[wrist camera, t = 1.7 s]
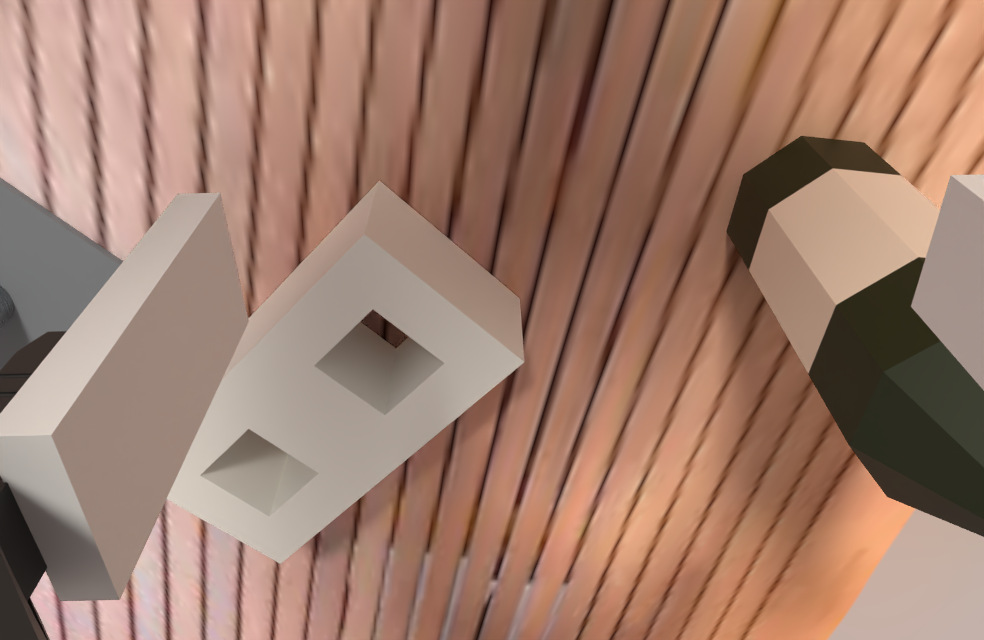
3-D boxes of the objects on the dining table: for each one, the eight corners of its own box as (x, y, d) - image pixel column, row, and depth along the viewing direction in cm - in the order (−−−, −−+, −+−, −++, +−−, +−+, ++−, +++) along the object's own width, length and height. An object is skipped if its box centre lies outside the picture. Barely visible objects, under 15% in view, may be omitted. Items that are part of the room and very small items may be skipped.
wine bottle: (926, 180, 40) (1667, 805, 15) (815, 304, 44) (1256, 963, 19) (798, 102, 38) (1417, 681, 13) (693, 239, 42) (1009, 890, 17)
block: (300, 489, 51) (280, 563, 46) (165, 406, 48) (127, 476, 43) (519, 298, 44) (524, 362, 39) (379, 180, 40) (364, 234, 35)
